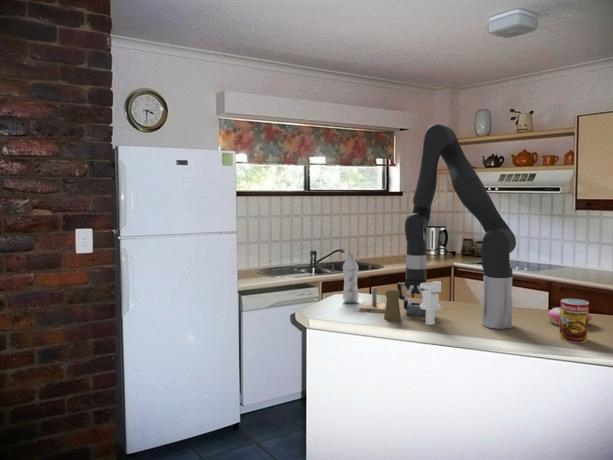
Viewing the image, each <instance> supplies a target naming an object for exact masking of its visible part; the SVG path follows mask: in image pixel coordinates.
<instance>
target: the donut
mask: <svg viewBox="0 0 613 460" xmlns="http://www.w3.org/2000/svg"><path fill="white" fill-rule="evenodd" d="M547 318H548V321H549V322H550V323H551V324H553V325H556V326H559V327H560V306H559V307H553V308H552V309H550V310H549V311H548V313H547ZM591 321H592V316H591V314H590V313H588V325H590V323H591Z"/></svg>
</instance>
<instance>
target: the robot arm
mask: <svg viewBox="0 0 613 460" xmlns="http://www.w3.org/2000/svg"><path fill="white" fill-rule="evenodd" d="M423 136H424V137H423V143H422V145H423V146H422V156H421V162H420V163H421V164H420V168H419V173H418V179H417V182H416V187H415V190H414V194H413V197H412V198H413V199H412V204H413V209H412V212H411V214H409V215H408V216H406V218H405V221H404V232H405V238H406V259H405V281H404V282H400V281H399V282H398V283H397V284H396V285H397V289H398V290H399V291H400V297H399V298H398V299H399V300H402V301H403V309H404V310H405V311H406V312H407V304H408V302H409V300H408V298H409V297H410V295H411V294H412V295H414V294H417V295H420V296H421V297H422V292H423V290H425V291H426V289H423V288H420V284H421V283H426V282H428V281H427V260H428V259H427V242H426V240H425V237H424V230H426V228H427V227H428V225H429V223H430V219H431V211H432V204H433V201H434V198H435V194H436V190H437V183H438V166H439V164H438V163H439V161H440V157H441V158H442V160H443V161H444V163H445V164H446V167H447V170H448V172H449V178H450V182H451V184H452V187H453V190H454V192H455V194H456V195H457V197H458V199H459V201H460V202H461V204H462V205H463V206H464V207H465V209H467V210H468V212H469V213H470V214H471V215H473V216H474V217H475V219H477V221H478V223H480V225H481V228H482V229H483V231H484V233H485V234H484V235H483V237H482V239H481V240H482V241H481V267H482V271H483V281H482V283H483V285H482V288H483V289H482V290H483V291H482V317H481V319H482V320H481V322H482V326H483V327H486V328H490V329H495V330H496V329H498V330H501V329H502V330H505V329H512V325H513V323H512V322H513V299H512V298H513V268H512V267H511V264H510V253H512V252H513V251H514V250H515V248H516V245H517V238H516V236H515V233H514V232H513V231H512V229H511V228H510V227H509V225H508V223H506V221H505V220H504V219H503V217H502V216H501V214H500V213H499V211H498V209H497V207H496V205H495V203H494V202H493V200H492V198H491V197H490V195H489V193H488V191H487V188H486V187H485V185H484V183H483V181H482V180H481V178H480V177H479V175H478V173H477V172H476V171H475V168H474V167H473V166H472V164H471V163H470V161H469V160H468V159H467V156H466V155H465V153H464V151H463V149H462V146H461V144H460V142H459V139H458V137H457V134H456V133H455V132H454V130H453V129H452V128H451V127H449V126H446V125H443V124H440V123H439V124H436V123H435V124H433V125H430V126H428V128H427V129H426V131H425V133H424V135H423ZM404 287H405V288H406V289H407V291H406V294H405V295H404V293H403V289H404ZM424 313H426V310H424Z"/></svg>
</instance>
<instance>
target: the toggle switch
mask: <svg viewBox="0 0 613 460" xmlns="http://www.w3.org/2000/svg"><path fill="white" fill-rule="evenodd" d="M377 290H378V289H377V287H372V292H371V293H372V295H371V296H372V298H371V299H372V302H369V301H368V302H367V301H366V302H365V301H364V302H363V303H362V304H361V305H360V307H359V308H358V309H359V312H370V313H384V314H385V308H386V303H383V302H377V297H378V296H377V293H378V291H377Z"/></svg>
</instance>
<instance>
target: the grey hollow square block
mask: <svg viewBox="0 0 613 460" xmlns="http://www.w3.org/2000/svg"><path fill="white" fill-rule="evenodd" d="M421 303H422V302H417V301H416V302H415V301H408V304H407V311H406V315H408V316H418V315H421V316H420V317H422V316H423V317H424V315H425V312H424V309H421V308H420V304H421Z"/></svg>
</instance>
